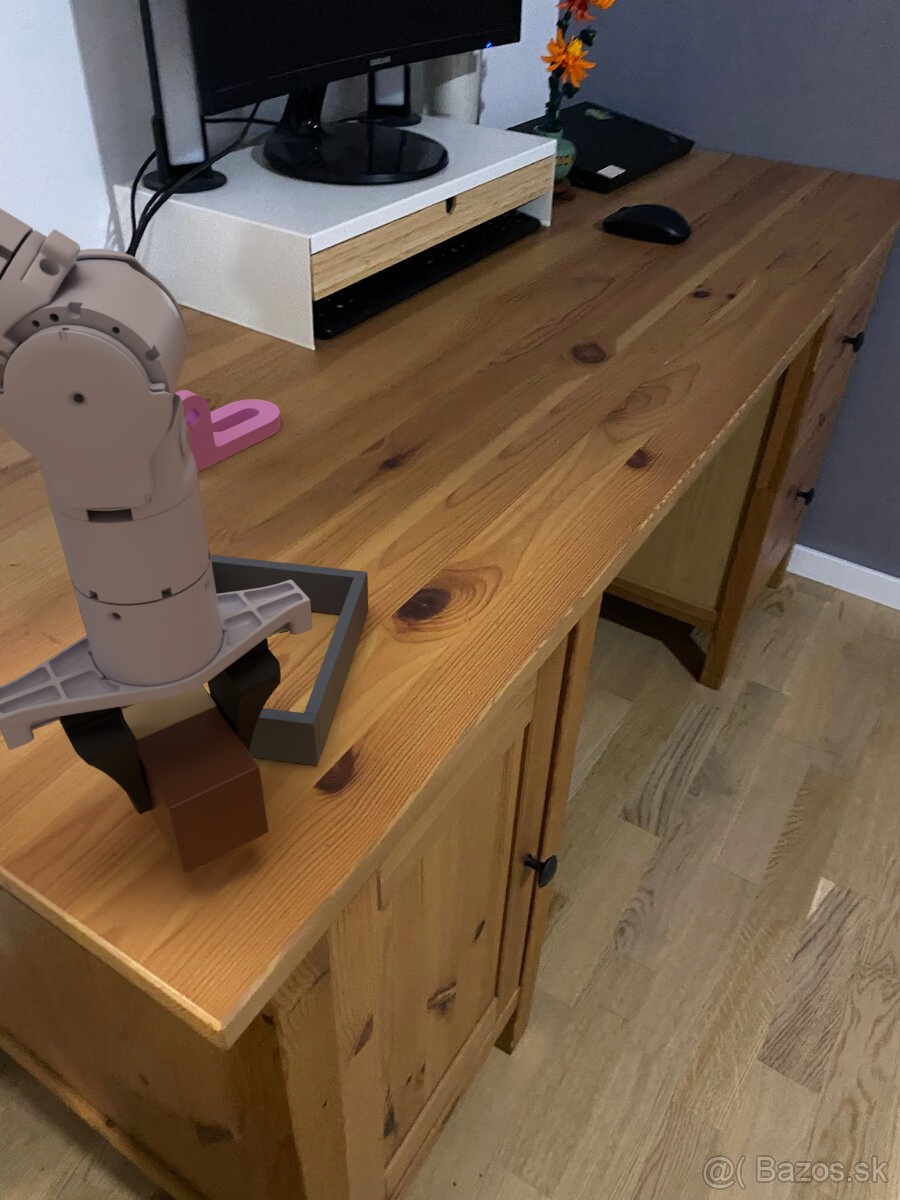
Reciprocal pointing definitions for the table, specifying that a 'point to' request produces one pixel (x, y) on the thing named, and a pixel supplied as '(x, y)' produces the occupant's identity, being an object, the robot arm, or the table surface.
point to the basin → (329, 594)
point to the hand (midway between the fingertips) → (188, 776)
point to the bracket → (226, 426)
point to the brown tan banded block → (197, 777)
